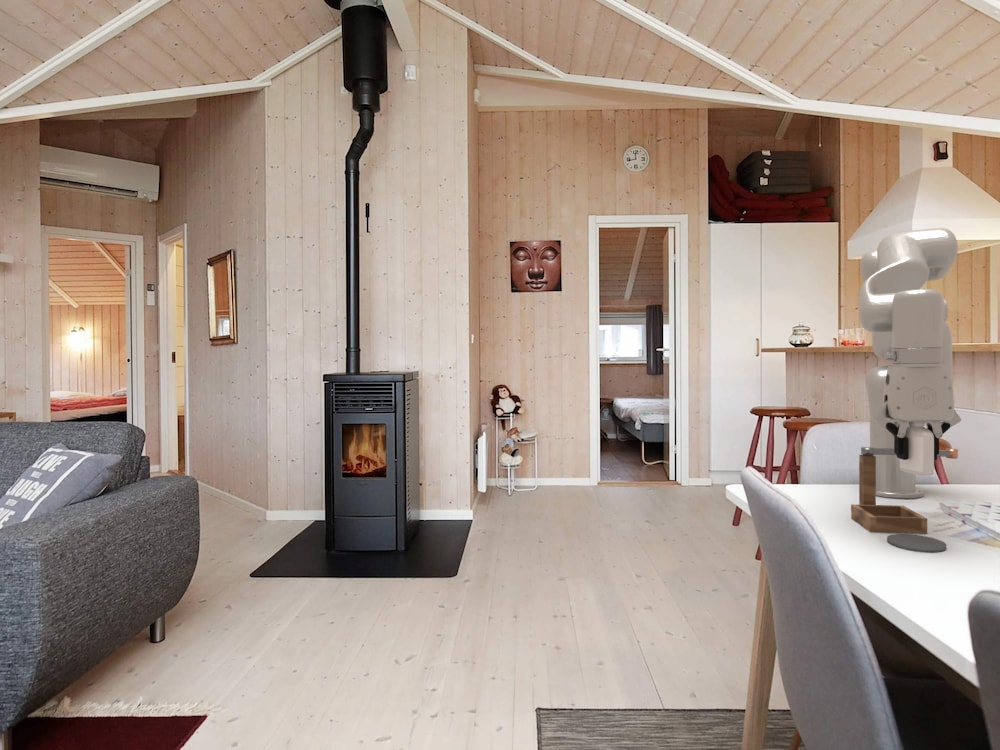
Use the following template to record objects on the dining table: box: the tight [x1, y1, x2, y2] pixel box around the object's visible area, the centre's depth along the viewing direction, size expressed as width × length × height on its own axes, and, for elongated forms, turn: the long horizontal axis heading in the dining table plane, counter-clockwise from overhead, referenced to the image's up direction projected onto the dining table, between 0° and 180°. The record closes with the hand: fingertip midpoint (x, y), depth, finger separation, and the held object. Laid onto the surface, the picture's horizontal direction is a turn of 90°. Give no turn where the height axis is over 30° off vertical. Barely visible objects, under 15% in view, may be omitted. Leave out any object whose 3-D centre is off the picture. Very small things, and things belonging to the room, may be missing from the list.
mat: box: [886, 533, 947, 553], centre depth 111 cm, size 9×9×1 cm
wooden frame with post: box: [850, 454, 928, 535], centre depth 126 cm, size 16×10×13 cm, turn 169°
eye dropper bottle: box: [900, 422, 935, 477], centre depth 111 cm, size 4×6×12 cm
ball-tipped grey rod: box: [860, 446, 959, 460], centre depth 130 cm, size 18×2×2 cm, turn 71°
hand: (916, 457), depth 111 cm, fingers closed on eye dropper bottle, 4 cm apart
